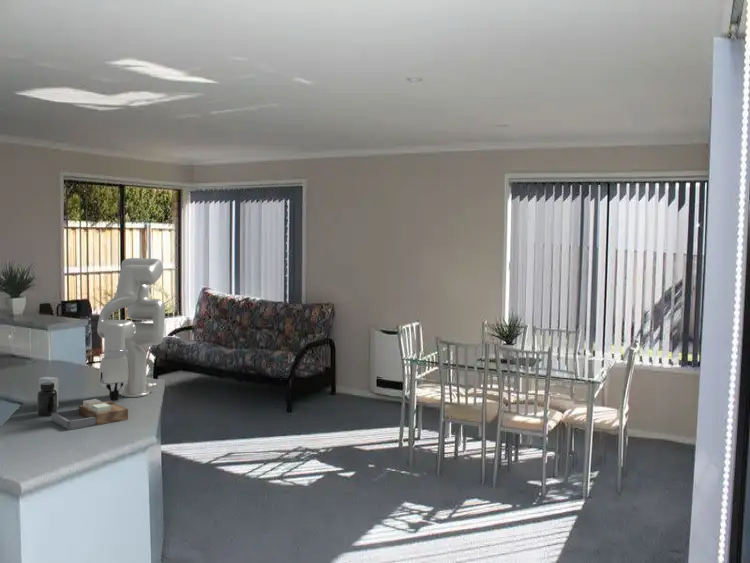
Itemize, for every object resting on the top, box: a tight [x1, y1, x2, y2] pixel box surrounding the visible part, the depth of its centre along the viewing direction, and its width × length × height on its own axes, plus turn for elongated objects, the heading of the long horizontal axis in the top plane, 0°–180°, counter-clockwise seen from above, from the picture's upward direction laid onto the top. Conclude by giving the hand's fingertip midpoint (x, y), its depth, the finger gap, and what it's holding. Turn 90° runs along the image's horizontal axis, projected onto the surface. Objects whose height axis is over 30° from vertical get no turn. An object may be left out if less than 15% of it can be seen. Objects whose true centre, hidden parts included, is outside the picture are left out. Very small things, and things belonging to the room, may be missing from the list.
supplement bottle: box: [36, 382, 58, 417], centre depth 252 cm, size 7×7×12 cm
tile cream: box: [82, 398, 103, 409], centre depth 251 cm, size 5×5×2 cm
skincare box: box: [38, 376, 59, 408], centre depth 262 cm, size 6×4×12 cm
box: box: [51, 407, 97, 431], centre depth 242 cm, size 10×16×3 cm, turn 46°
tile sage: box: [92, 403, 111, 413], centre depth 245 cm, size 5×5×2 cm
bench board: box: [78, 400, 129, 426], centre depth 250 cm, size 12×16×4 cm
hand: (114, 400), depth 257 cm, fingers closed
